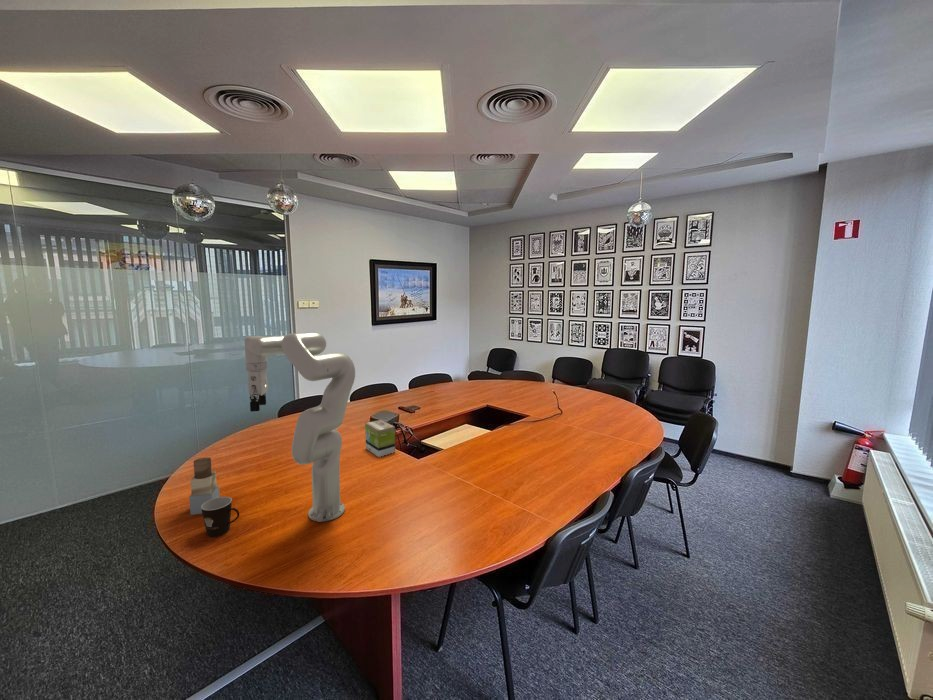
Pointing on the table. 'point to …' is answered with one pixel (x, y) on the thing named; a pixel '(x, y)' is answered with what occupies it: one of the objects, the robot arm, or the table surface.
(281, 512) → the table surface
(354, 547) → the table surface
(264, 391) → the robot arm
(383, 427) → the tea box
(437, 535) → the table surface
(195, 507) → the white box
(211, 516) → the coffee mug
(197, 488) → the birch block
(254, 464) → the table surface
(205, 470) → the walnut cylinder
